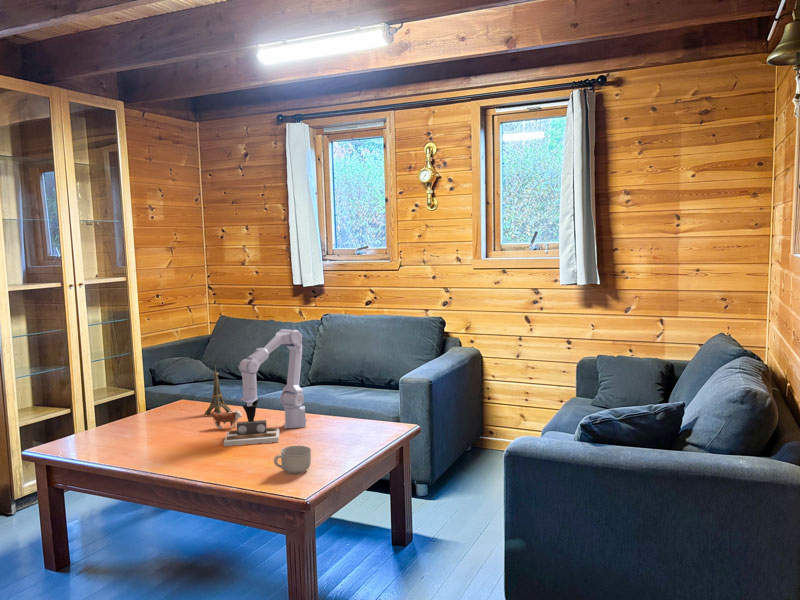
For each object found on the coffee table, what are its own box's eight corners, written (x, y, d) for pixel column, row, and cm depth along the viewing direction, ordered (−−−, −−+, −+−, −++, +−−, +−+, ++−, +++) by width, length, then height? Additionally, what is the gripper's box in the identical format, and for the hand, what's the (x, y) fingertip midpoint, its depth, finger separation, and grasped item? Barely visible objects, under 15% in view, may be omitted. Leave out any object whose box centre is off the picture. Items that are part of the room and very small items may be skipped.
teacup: (306, 464, 232) (305, 443, 231) (316, 472, 222) (315, 450, 222) (269, 471, 225) (268, 449, 225) (278, 480, 216) (277, 458, 215)
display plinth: (279, 432, 274) (279, 425, 274) (278, 442, 260) (278, 434, 260) (227, 436, 270) (227, 429, 270) (224, 446, 257) (223, 438, 256)
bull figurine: (242, 429, 282) (241, 411, 281) (212, 429, 282) (211, 412, 281) (244, 426, 286) (243, 408, 286) (215, 427, 286) (214, 409, 286)
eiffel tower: (216, 410, 317) (213, 362, 315) (233, 412, 313) (230, 362, 311) (202, 416, 308) (199, 365, 306) (219, 417, 304) (216, 366, 302)
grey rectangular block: (266, 432, 268) (266, 419, 267) (266, 434, 265) (265, 421, 264) (238, 434, 266) (237, 422, 265) (237, 437, 263) (236, 424, 262)
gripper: (241, 384, 270) (243, 415, 271) (238, 391, 256) (240, 424, 257) (258, 383, 271) (260, 414, 272) (256, 390, 257) (258, 423, 258)
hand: (251, 419), depth 265 cm, fingers open, 7 cm apart
